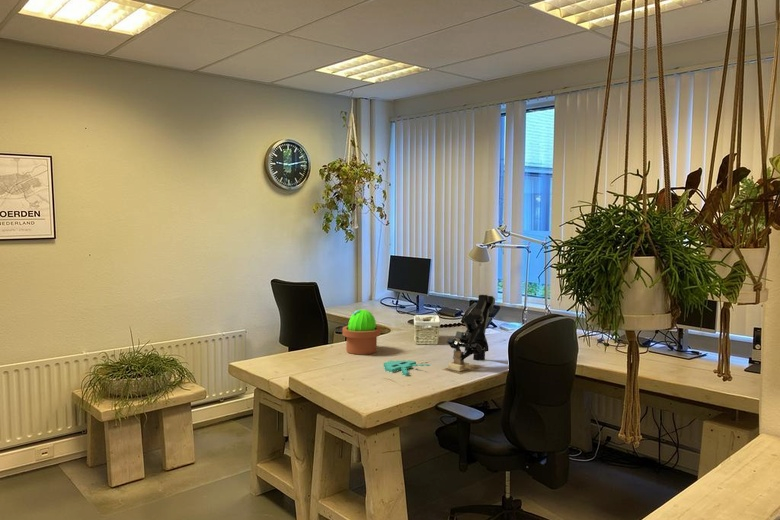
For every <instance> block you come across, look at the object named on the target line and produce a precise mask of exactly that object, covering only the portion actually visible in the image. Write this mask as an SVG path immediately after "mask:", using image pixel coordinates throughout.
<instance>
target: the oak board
mask: <svg viewBox="0 0 780 520" xmlns="http://www.w3.org/2000/svg"><path fill="white" fill-rule="evenodd" d="M481 368H482V366H478V365H474V364H470V363H469V369H468V370H465V371H462V372H456V371H452V370H448V367H445V368H442V369H441V370H442V371H446V372H450V373H454V374H458V375H463V374H466V373H469V372H472V371H476V370H479V369H481Z"/></svg>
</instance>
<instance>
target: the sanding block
mask: <svg viewBox="0 0 780 520" xmlns="http://www.w3.org/2000/svg"><path fill="white" fill-rule="evenodd" d="M463 352H464V351H462V350H461V351H454V350H453V355H454V359H453V361H452V362H449V363H448V364H447V365H448V366H447V368H448V370H452V371H456V372H462V371H465V370H468V369H469V364H470V363H468V362H465V359H464V360H462V361H461V360H460V359H461V356H462V354H463Z"/></svg>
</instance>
